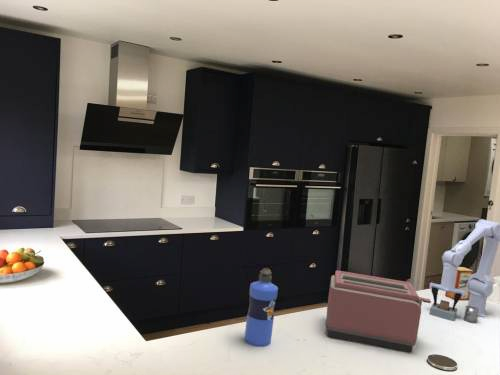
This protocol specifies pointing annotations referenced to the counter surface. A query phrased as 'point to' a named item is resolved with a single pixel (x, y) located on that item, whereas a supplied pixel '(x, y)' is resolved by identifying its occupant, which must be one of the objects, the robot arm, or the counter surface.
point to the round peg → (471, 314)
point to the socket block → (443, 312)
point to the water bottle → (261, 310)
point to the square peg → (444, 305)
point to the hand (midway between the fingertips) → (444, 307)
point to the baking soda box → (461, 282)
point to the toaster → (373, 311)
